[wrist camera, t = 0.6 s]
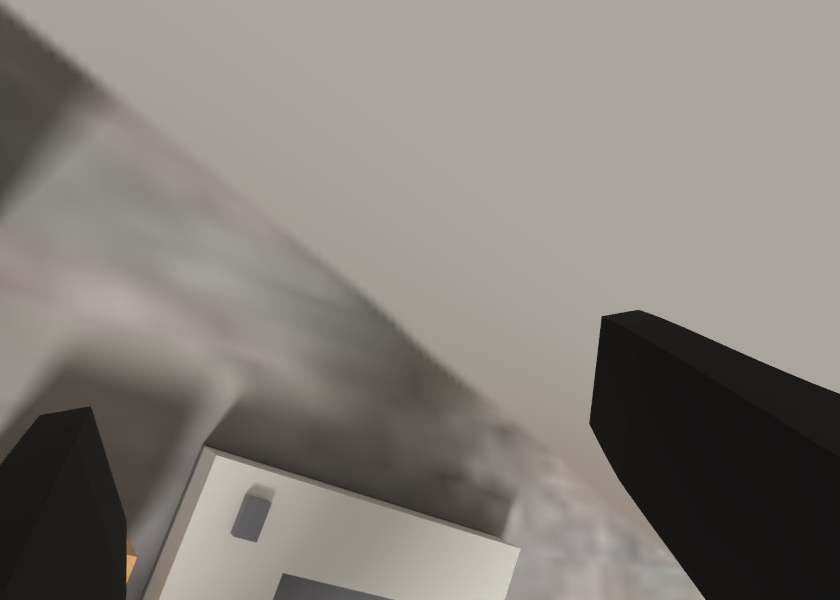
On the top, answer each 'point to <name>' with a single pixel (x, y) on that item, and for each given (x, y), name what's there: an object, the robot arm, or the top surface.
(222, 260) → the top surface
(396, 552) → the white cutout panel
